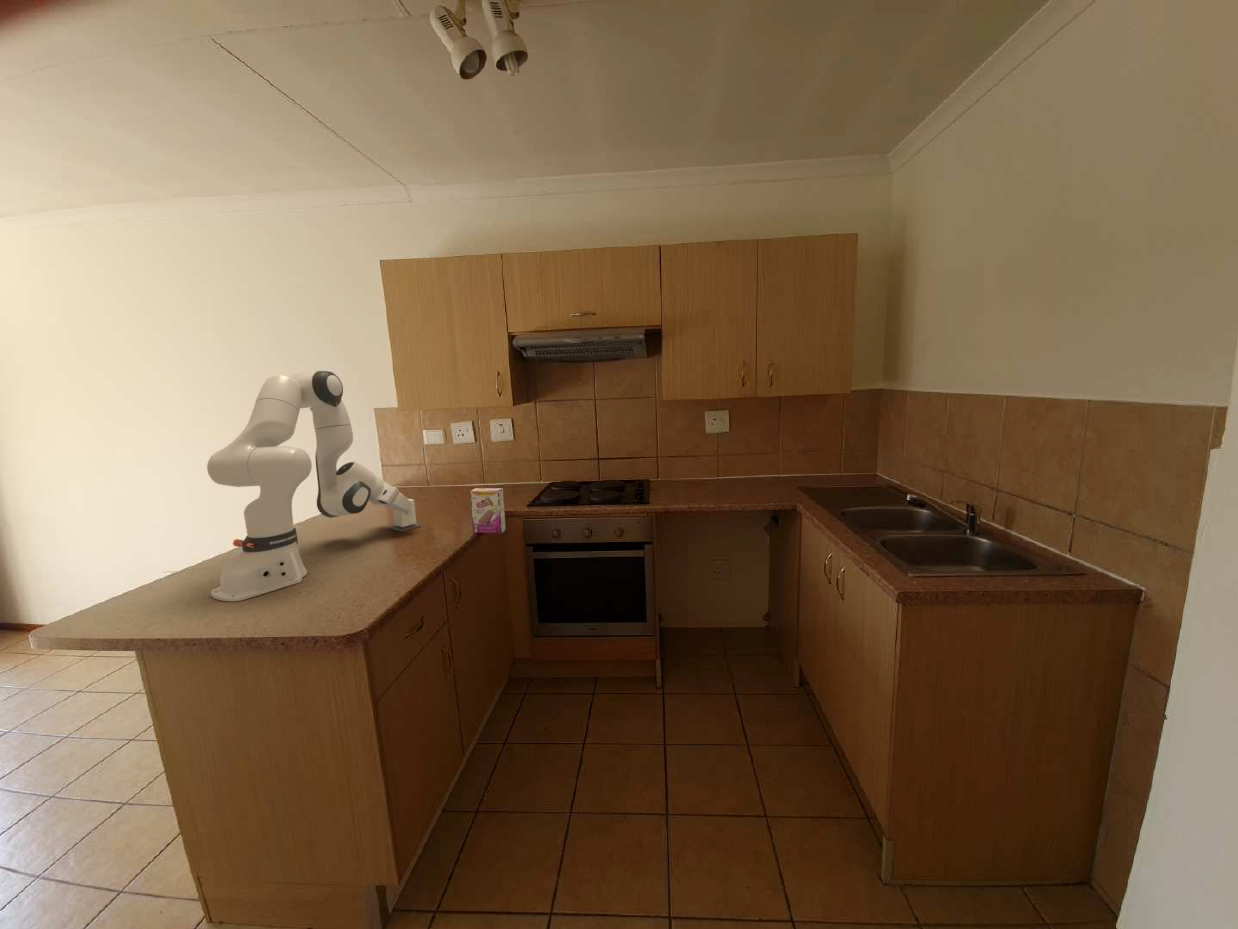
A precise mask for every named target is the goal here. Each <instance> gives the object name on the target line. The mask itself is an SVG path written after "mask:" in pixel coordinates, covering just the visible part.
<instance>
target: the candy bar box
mask: <svg viewBox="0 0 1238 929" xmlns="http://www.w3.org/2000/svg"><path fill="white" fill-rule="evenodd" d="M469 494H470V495H469V496H470V507H471V520H472V533H473V534H489V535H490V534H496V535H498V534H500V535H501V534H503V533H504V532H505V531H506V530H507V529H506V514H505V500H504V499H505V498H504V489H503V488H502V487H501V488H499V487H498V488H493V487H492V488H490V487H489V488H487V487H485V488H484V487H481V488H478V487H477V488H473V489H472V490H470V491H469Z"/></svg>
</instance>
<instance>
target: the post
mask: <svg viewBox="0 0 1238 929" xmlns="http://www.w3.org/2000/svg"><path fill="white" fill-rule="evenodd" d="M389 527H390V528H389V529H390V530H394V531H397V532H401V533H404V532H407V531H410V530H414V529H418V528H421V527H422V525H421V523H416V524H412V525H409V526H405V527H400V526H396V525H391V526H389Z"/></svg>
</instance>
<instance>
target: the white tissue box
mask: <svg viewBox="0 0 1238 929" xmlns="http://www.w3.org/2000/svg"><path fill="white" fill-rule="evenodd" d="M408 499H409V500H410V501H411V502H412V504H413V506H412V507H411V510H412V511H413V512H412V513H411V514H407V513H406V512H405V511H401V510H396V509H392V517H393V526H395V525H396V526H400V527H405V526H409V525H412V524H417V516H416V507H415V500H414V499H412V498H408Z"/></svg>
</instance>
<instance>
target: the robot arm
mask: <svg viewBox="0 0 1238 929" xmlns="http://www.w3.org/2000/svg"><path fill="white" fill-rule="evenodd" d="M260 388H261V389H260V391H259V392H258V395H257V397H256V400H255V402H254V406H253V410H252V411H251V412H252V413H251V415H250V417H249V420H248V423H247V424H246V426H245V427H244V429H243V430H242V431H241V433H240V434H238V436H237V437H236V438H235V439H234V440H233V441H231V443H229V444H228V445H227V446H225V447H224V448H222V449H220V450H218V451H216V452H214V453H213V454H212V455H211V456H210V457H209V459H208V462H207V464H206V465H207V466H206V469H207V474H208V476H209V479H211V480H212V481H213V482H214V483H216V484H218V485H221V486H229V487H235V488H240V487H241V488H242V487H260V492H259V496H258V498H256V499H254V500H253V501H251V502H249V503H248V504H247V505H246V506H245V509H244V511H243V516H244V521H245V529H246V534H247V535H246V536H245V538H244V540H243V539H238V538H236V539H234V540H233V541H232V545H233V546H234V547H238V548H242V550H241V552H240V553H239V554H237V556H236V557H235V558H234V559H232V560H231V561H230V562H229V563H228V564H227V565H226V566H225V567H224V568H223V569H222V571H221V572H220V576H219V577H220V578H219V585H220V586H218V587H215V588H213V589H211V591H210V596H211V597H212V599H216V600H218V601H222V602H223V601H224V602H240V601H244V600H247V599H250V598H251V599H252V598H253V597H257V596H261V595H263V594H268V593H270V592H273V591H276V590H280V589H282V588H286V587H290V586H293V585H296V584H299V583H301V582H302V579H303V578H304V577H305V576H306V575H307V574H308V570H307V569H306V566H305V565H304V563H303V559H302V557H301V554H300V550H299V547H298V544H299V542H298V540H299V539H298V534H297V533H298V532H297V529H296V527H295V526H294V520H293V519H294V518H293V509H292V508H293V507H292V506H293V498H294V495H295V493H296V490H297V489H298V487H299V486H300V485H301V484H302V483H303V482H304V481H306V479H307V478H308V477H309V476H310V474H311V471H312V468H313V467H312V465H313V464H312V463H313V462H312V460H311V458H310V455H309V454H308V453H307V452H306V450H304V449H303V448H298V447H292V446H285V445H283V446H282V444H284V443H285V442H287V441H289V440H290V439H291V438H292V436H293V435H294V433H295V430H296V425H297V423H298V417H299V414H300V411H301V410H300V409H306V408H309V410H310V411H311V414H312V420H313V421H312V422H313V428H314V433H315V440H316V449H315V457H314V458H315V468H316V477H317V487H318V490H317V497H316V508H317V509H318V511H319V513H320V514H321V515H322V516H324V517H326V518H329V519H331V518H339V517H341V516H348V515H355V514H359V513H361V512H362V511H364V510H365V509H366V506H367V504H368V503H369V502H370V503H371V504H372V505H373V506H374V505H375V506H376V505H378V506H380V507H382V508H387V509H392V510H393V509H396V510H401V511H405V512H406V513H407V514H411V513H412V512H413V511H412V510H411V507H412V506H413V504H412V502H411V501H410V500H409V499H410V498H408V497H407V496H405V494H403V493H402V492H400V489H399V488H397V487H396V486H393V485H391V484H389V483H387V482H386V480H385V481H384V480H383V479H382V478H380V477H378V476H376V475H375V474H374V473H373V471H372V470H369V469H368V468H367V467H365V466H364V465H362V464H360V463H359V462H356V461H351V462H347V463H345V464H343V465H341V466H340V467H339V468H338V469H337V464H338V461H339V459H340V457H341V456H342V455H343V454H345V452H347V451H348V450H349V449H350V448H351V446H352V445H353V442H354V433H353V428H352V424H351V419H350V417H349V413H348V410H347V408H346V405H345V403H344V401H343V400H342V398H343V394H344V385H343V382H342V381H341V379H340V378H339V377H338V376H337V375H336V374H335V373H334V372H333V371H328V370H318V371H317V370H316V371H315V372H305V373H298V374H297V373H296V374H294V375H290V376H289V375H285V374H275V375H272V376H270V377H268V378H267V379H266V381H265V382H264V383H263V385H262V387H260ZM280 445H281V446H280Z"/></svg>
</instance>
